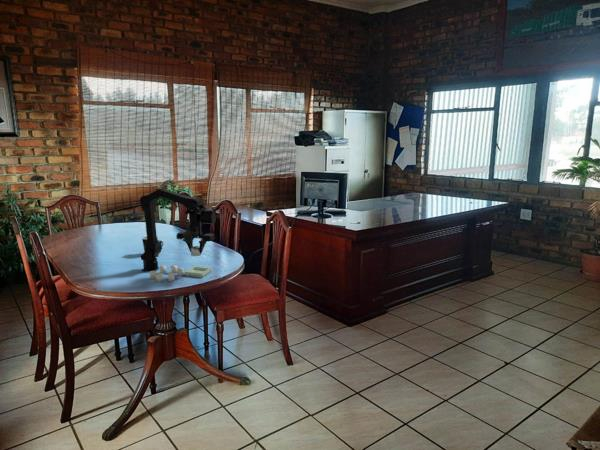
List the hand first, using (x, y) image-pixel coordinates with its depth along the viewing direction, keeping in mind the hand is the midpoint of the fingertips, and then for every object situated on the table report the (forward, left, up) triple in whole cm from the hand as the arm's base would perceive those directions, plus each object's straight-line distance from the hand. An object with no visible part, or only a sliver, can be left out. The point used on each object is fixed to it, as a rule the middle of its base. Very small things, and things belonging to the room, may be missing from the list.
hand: (196, 252), depth 225 cm
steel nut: (0, 0, -1) cm, 1 cm away
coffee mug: (-41, +24, -12) cm, 49 cm away
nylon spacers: (-12, -8, -11) cm, 18 cm away
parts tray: (+1, +1, -11) cm, 11 cm away
